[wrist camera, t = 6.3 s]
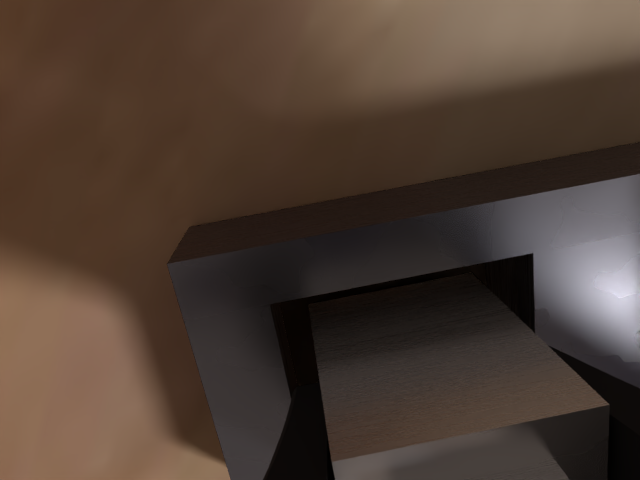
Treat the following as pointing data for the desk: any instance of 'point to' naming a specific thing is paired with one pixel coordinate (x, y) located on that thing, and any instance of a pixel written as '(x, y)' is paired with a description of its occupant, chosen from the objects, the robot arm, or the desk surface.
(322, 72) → the desk surface
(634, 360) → the plate with square hole
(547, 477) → the stepped square block
